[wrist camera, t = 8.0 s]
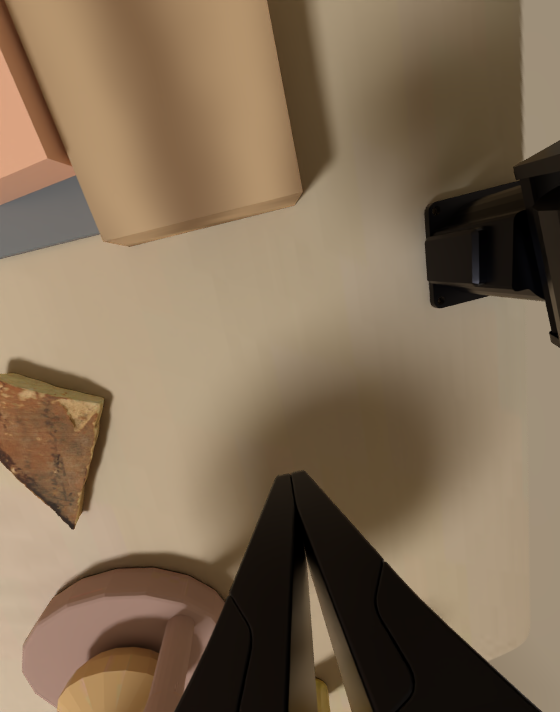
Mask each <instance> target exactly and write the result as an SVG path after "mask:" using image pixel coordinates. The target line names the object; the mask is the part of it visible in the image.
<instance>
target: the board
mask: <svg viewBox="0 0 560 712" xmlns="http://www.w3.org/2000/svg"><path fill="white" fill-rule="evenodd" d="M4 1H5V3H6V6H7V8H8V11H9V13H10V16H11V18H12V20H13V23H14V25H15V28H16V30H17V33H18V35H19V38H20V40H21V42H22V45H23V47H24V50H25V52H26V55H27V57H28V59H29V62H30V64H31V67H32V69H33V72H34V74H35V77H36V79H37V81H38V84H39V86H40V89H41V91H42V94H43V96H44V98H45V101H46V103H47V106H48V108H49V111H50V113H51V116H52V118H53V120H54V123H55V125H56V128H57V130H58V133H59V135H60V137H61V140H62V142H63V145H64V147H65V150H66V152H67V155H68V157H69V159H70V162H71V164H72V167H73V169H74V172H75V174H76V176H77V179H78V181H79V184H80V186H81V189H82V191H83V194H84V196H85V198H86V201H87V203H88V206H89V208H90V211H91V213H92V215H93V218H94V220H95V223H96V225H97V228H98V230H99V233H100V235H101V237H102V240H103V242H108V243H113V244H119V245H124V246H129V247H130V246H134V245H138V244H142V243H146V242H150V241H154V240H158V239H162V238H166V237H170V236H174V235H178V234H182V233H186V232H190V231H194V230H198V229H202V228H206V227H210V226H214V225H218V224H222V223H226V222H230V221H234V220H238V219H242V218H246V217H250V216H254V215H258V214H262V213H266V212H270V211H274V210H278V209H282V208H286V207H290V206H294V205H295V204H296V202H297V200H298V199H299V197H300V196H301V194H302V192H303V190H302V184H301V179H300V174H299V168H298V163H297V158H296V152H295V147H294V142H293V136H292V131H291V126H290V120H289V115H288V110H287V104H286V99H285V94H284V88H283V83H282V78H281V72H280V67H279V62H278V56H277V51H276V46H275V41H274V35H273V30H272V25H271V19H270V14H269V9H268V3H267V0H4Z"/></svg>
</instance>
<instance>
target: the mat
mask: <svg viewBox="0 0 560 712" xmlns="http://www.w3.org/2000/svg"><path fill="white" fill-rule="evenodd" d="M99 234H100V233H99V230H98V228H97V225H96V223H95V220H94V218H93V215H92V213H91V211H90V208H89V206H88V203H87V201H86V198H85V196H84V194H83V191H82V189H81V186H80V184H79V181H78V179H77V176H76V175H75V176H72V177H70V178H67V179H65V180H62V181H60V182H57V183H55V184H52V185H50V186H47V187H45V188H42V189H40V190H37V191H35V192H32V193H30V194H27V195H25V196H22V197H20V198H17V199H15V200H12V201H10V202H7V203H5V204H2V205H0V259H2V258H6V257H10V256H14V255H18V254H22V253H26V252H30V251H34V250H38V249H42V248H46V247H50V246H54V245H58V244H62V243H66V242H70V241H74V240H78V239H82V238H86V237H91V236H95V235H99Z"/></svg>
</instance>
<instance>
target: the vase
mask: <svg viewBox="0 0 560 712" xmlns="http://www.w3.org/2000/svg"><path fill="white" fill-rule="evenodd" d="M315 681H316V694H317V708H318V712H330V706H329V694H328V688H327V685H326V684H325V683H324V682H323V681H321V680H320V679H317V678H315Z"/></svg>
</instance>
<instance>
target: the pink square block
mask: <svg viewBox="0 0 560 712" xmlns="http://www.w3.org/2000/svg"><path fill="white" fill-rule="evenodd" d="M75 175H76V174H75V172H74V169H73V167H72V164H71V162H70V159H69V157H68V155H67V152H66V150H65V147H64V145H63V142H62V140H61V137H60V135H59V133H58V130H57V128H56V125H55V123H54V120H53V118H52V116H51V113H50V111H49V108H48V106H47V103H46V101H45V98H44V96H43V94H42V91H41V89H40V86H39V84H38V81H37V79H36V77H35V74H34V72H33V69H32V67H31V64H30V62H29V59H28V57H27V55H26V52H25V50H24V47H23V45H22V42H21V40H20V38H19V35H18V33H17V30H16V28H15V25H14V23H13V20H12V18H11V16H10V13H9V11H8V8H7V6H6V3H5V1H4V0H0V205H2V204H5V203H7V202H10V201H12V200H15V199H17V198H20V197H22V196H25V195H27V194H30V193H32V192H35V191H37V190H40V189H42V188H45V187H47V186H50V185H52V184H55V183H57V182H60V181H62V180H65V179H67V178H70V177H72V176H75Z"/></svg>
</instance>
